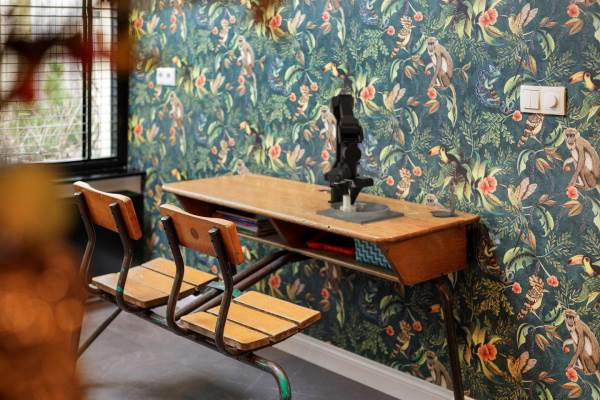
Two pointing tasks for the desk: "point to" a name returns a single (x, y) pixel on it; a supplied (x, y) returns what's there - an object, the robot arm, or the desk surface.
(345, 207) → the gear
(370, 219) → the tray
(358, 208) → the sun gear
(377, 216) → the grey flat ring
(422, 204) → the desk surface
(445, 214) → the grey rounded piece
